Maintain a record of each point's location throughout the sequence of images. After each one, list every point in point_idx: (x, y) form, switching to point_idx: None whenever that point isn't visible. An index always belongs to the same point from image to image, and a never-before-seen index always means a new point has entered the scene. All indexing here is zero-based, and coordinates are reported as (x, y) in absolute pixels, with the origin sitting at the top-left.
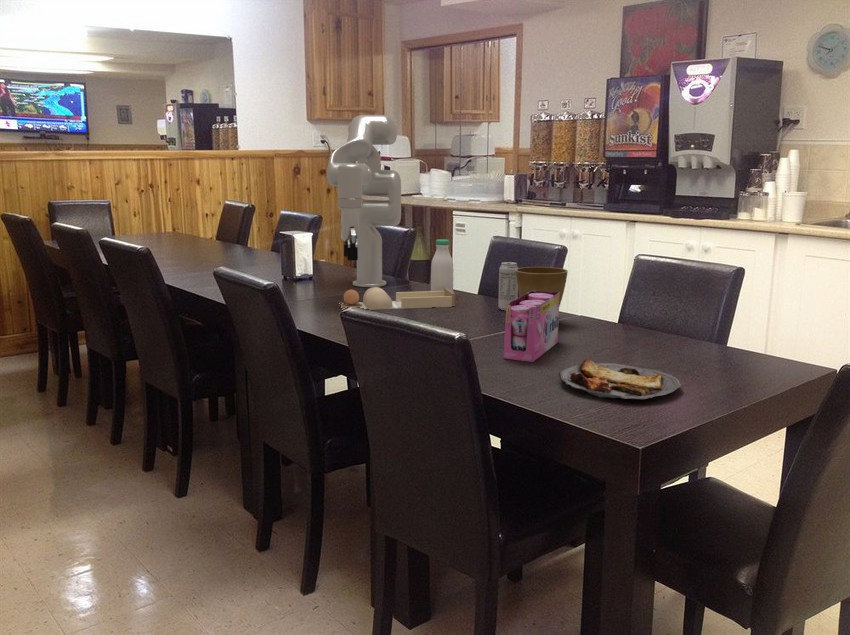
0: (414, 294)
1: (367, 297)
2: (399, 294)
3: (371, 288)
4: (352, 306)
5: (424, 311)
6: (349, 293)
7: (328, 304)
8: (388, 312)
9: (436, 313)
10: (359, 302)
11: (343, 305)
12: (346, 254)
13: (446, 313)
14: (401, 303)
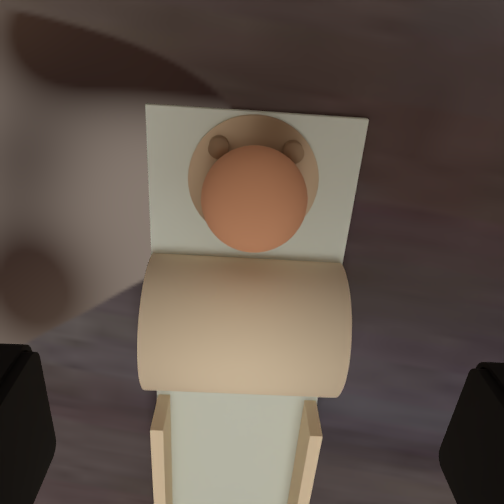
0: (297, 486)
1: (212, 288)
2: (307, 438)
3: (325, 349)
4: (201, 179)
5: (88, 449)
6: (215, 193)
7: (384, 44)
8: (77, 326)
9: None
10: (340, 241)
11: (245, 130)
12: (476, 405)
13: (43, 499)
14: (162, 408)
